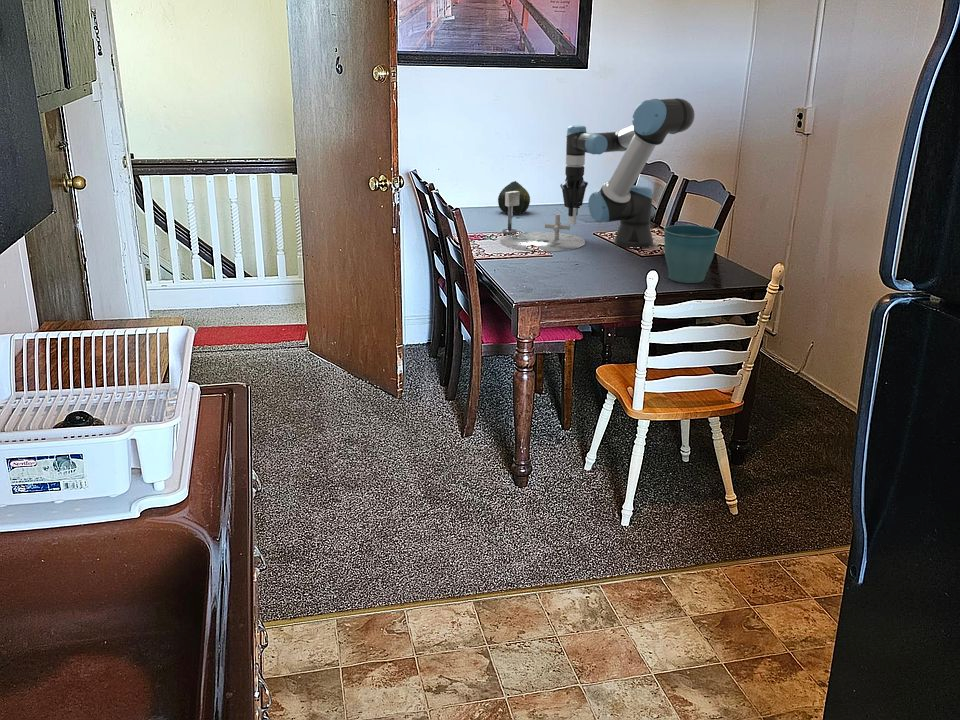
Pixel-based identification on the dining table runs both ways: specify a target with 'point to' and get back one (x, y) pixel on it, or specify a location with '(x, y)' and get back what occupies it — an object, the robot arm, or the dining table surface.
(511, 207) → the block topped stand
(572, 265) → the dining table surface
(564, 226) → the pipe connector
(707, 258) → the flower pot
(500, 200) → the squash
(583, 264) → the dining table surface
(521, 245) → the disc
